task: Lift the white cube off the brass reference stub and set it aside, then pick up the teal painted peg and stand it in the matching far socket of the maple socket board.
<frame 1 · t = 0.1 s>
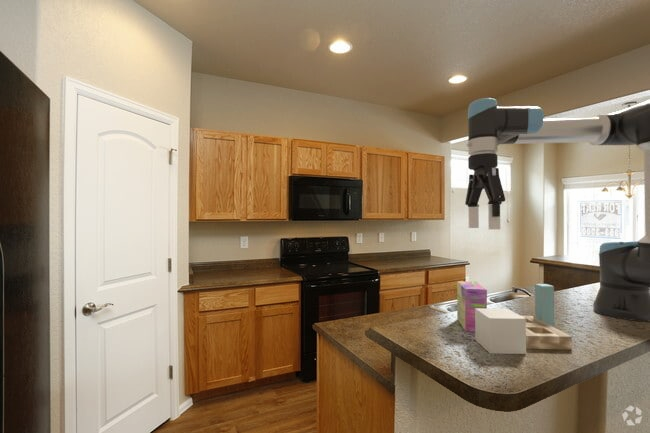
hand: (483, 228, 91), 28 cm above the counter, fingers open, 13 cm apart
socket board: (529, 336, 82), on the counter
peg: (544, 327, 89), on the counter
reference stub: (499, 346, 76), on the counter
white cube: (499, 346, 76), on the counter
box: (471, 326, 91), on the counter
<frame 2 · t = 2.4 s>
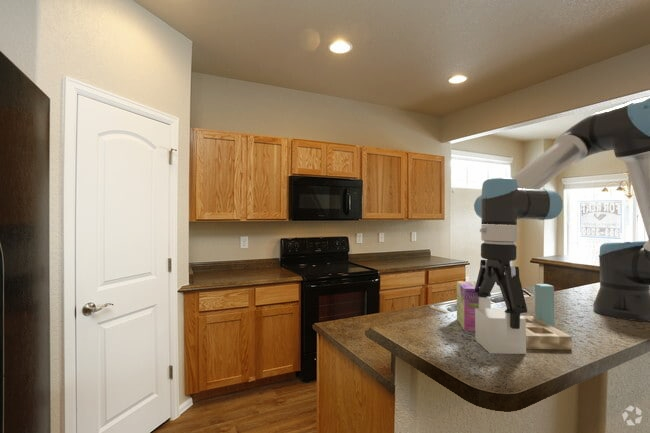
hand: (497, 331, 76), 4 cm above the counter, fingers open, 13 cm apart
nothing on the counter moved.
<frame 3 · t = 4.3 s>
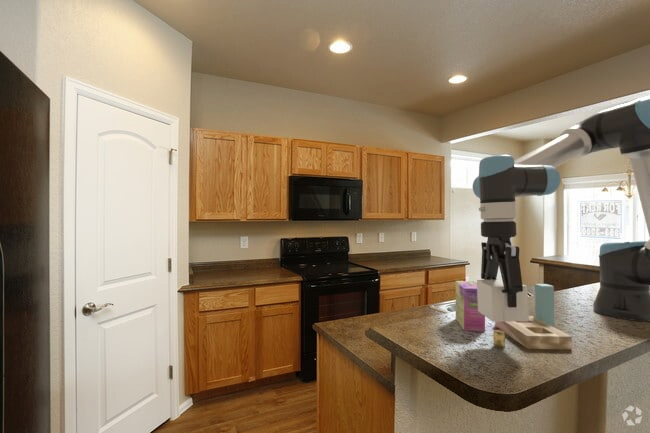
hand: (500, 314, 76), 8 cm above the counter, fingers closed on white cube, 8 cm apart
white cube: (502, 315, 76), point 7 cm above the counter, touching gripper
everything else where it was.
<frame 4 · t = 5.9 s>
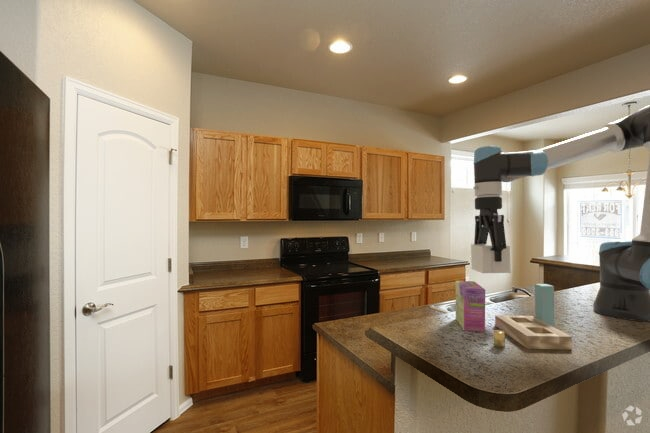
hand: (489, 269, 98), 15 cm above the counter, fingers closed on white cube, 8 cm apart
white cube: (490, 270, 98), point 15 cm above the counter, touching gripper
everything else where it was.
when the fingers open (2 cm above the counter, at t = 8.0 s): white cube drops 1 cm, on the counter.
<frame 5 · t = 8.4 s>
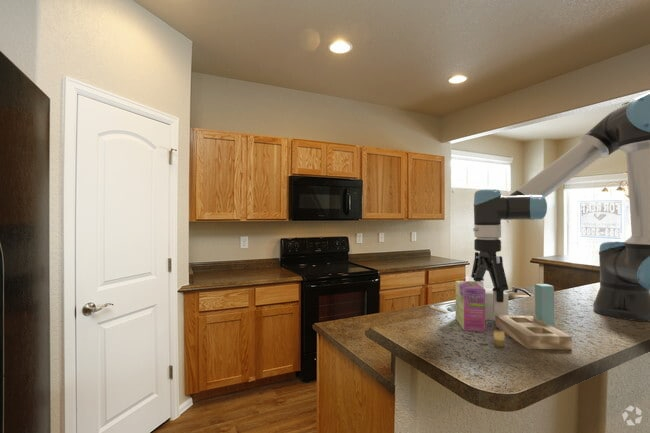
hand: (488, 306, 99), 3 cm above the counter, fingers open, 13 cm apart
white cube: (488, 316, 99), on the counter
everything else where it was.
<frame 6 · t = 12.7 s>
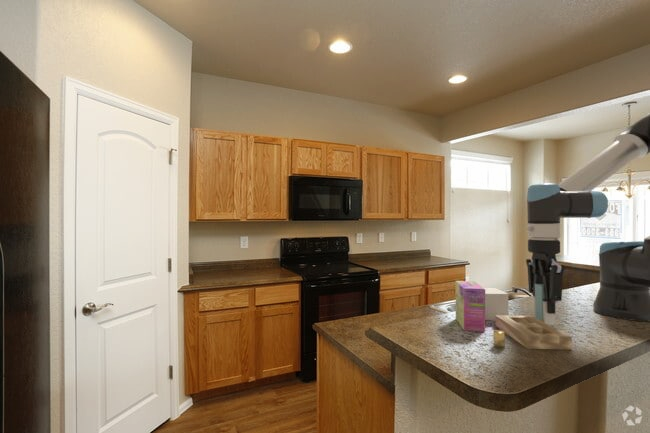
hand: (544, 322, 89), 2 cm above the counter, fingers closed on peg, 3 cm apart
peg: (544, 327, 89), on the counter, touching gripper
everything else where it was.
when the fingers open (4 cm above the counter, at t = 17.9 s): peg drops 2 cm, resting in socket board.
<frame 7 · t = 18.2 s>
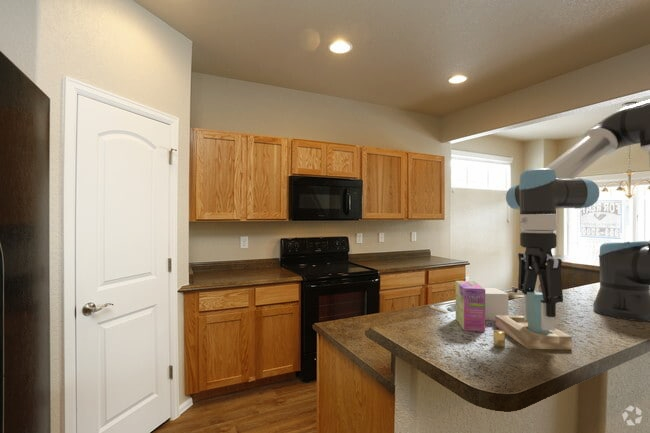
hand: (538, 324, 78), 4 cm above the counter, fingers open, 7 cm apart
peg: (538, 342, 78), resting in socket board
everything else where it was.
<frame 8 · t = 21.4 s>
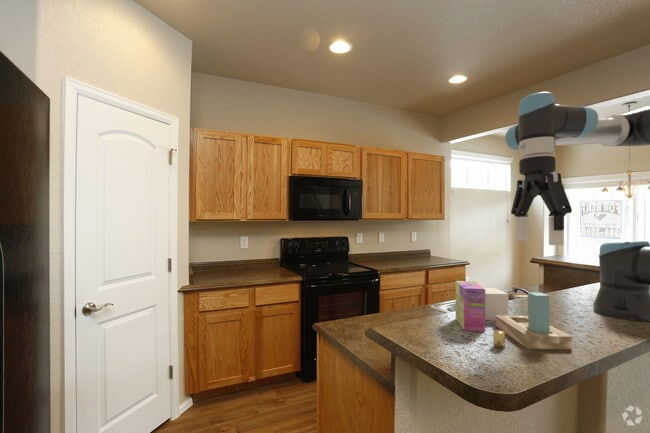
hand: (537, 242, 78), 25 cm above the counter, fingers open, 13 cm apart
nothing on the counter moved.
at the end: peg 0.0 cm from the target spot, resting in socket board; peg tilted 0°; white cube moved 25.4 cm from its start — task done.
